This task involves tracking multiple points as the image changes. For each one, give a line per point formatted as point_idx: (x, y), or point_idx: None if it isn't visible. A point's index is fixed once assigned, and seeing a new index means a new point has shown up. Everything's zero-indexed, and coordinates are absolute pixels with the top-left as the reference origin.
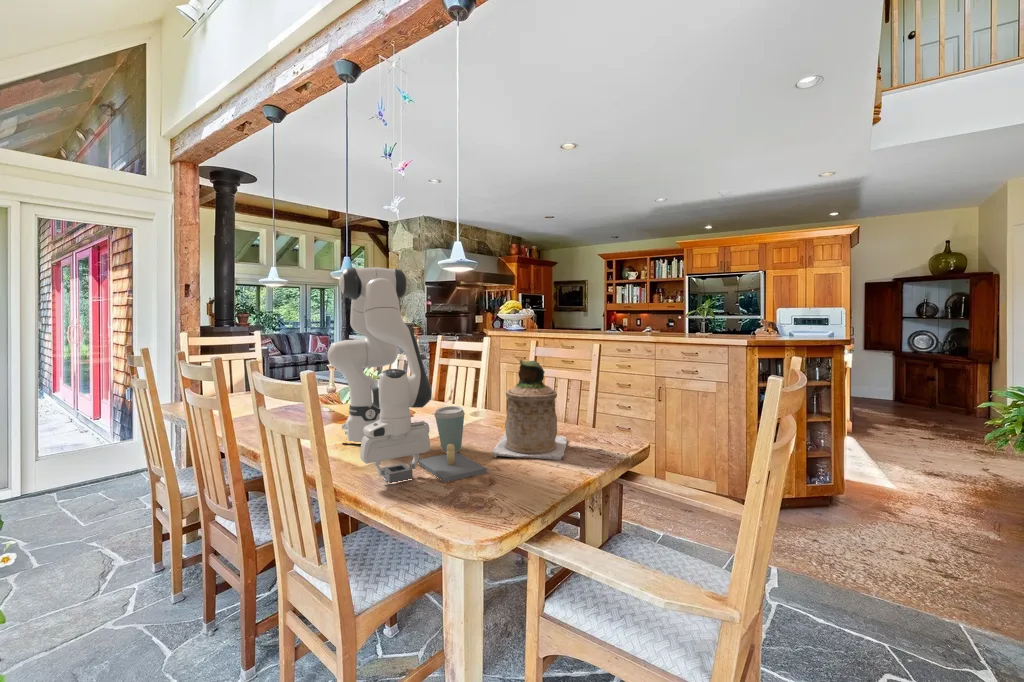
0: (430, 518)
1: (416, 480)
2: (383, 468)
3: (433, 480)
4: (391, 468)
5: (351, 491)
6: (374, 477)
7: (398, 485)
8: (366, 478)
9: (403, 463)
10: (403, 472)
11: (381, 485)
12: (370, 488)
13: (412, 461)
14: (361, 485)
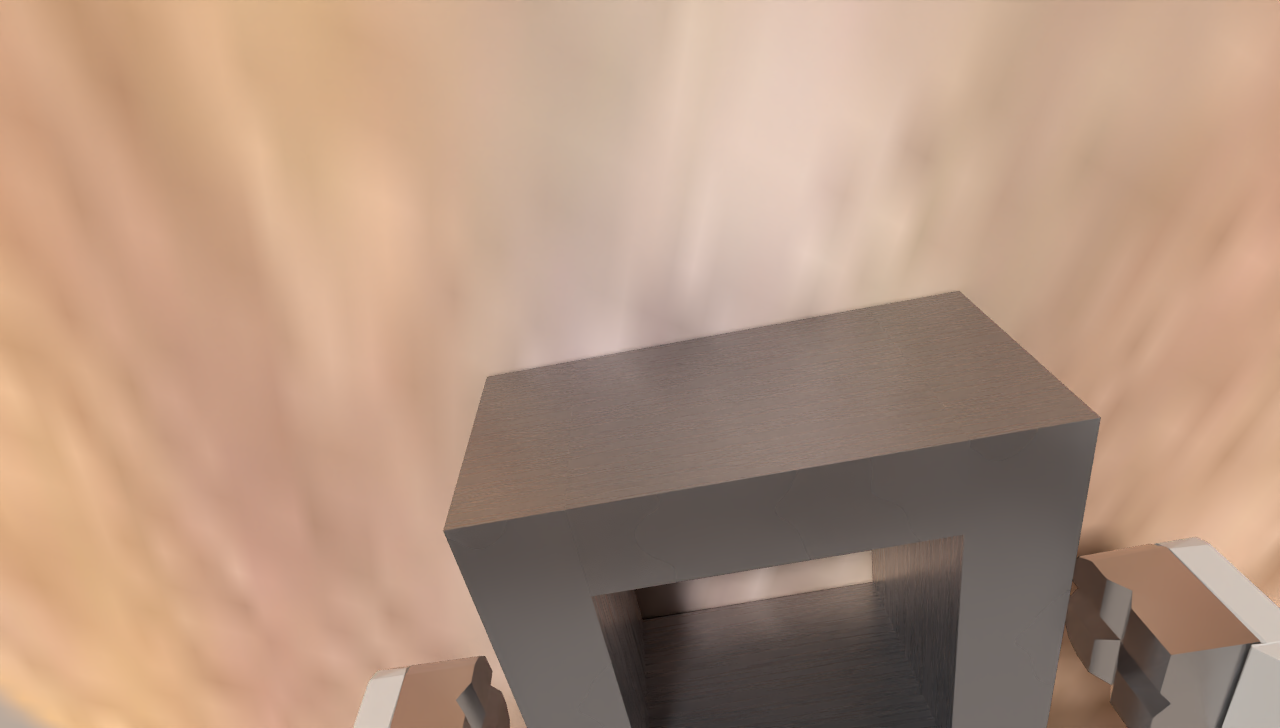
0: None
1: None
2: (485, 588)
3: None
4: (688, 559)
5: (28, 693)
6: (316, 250)
7: None
8: (131, 239)
9: (1081, 427)
10: None
11: (466, 641)
12: (306, 683)
13: (1266, 688)
14: (125, 548)
